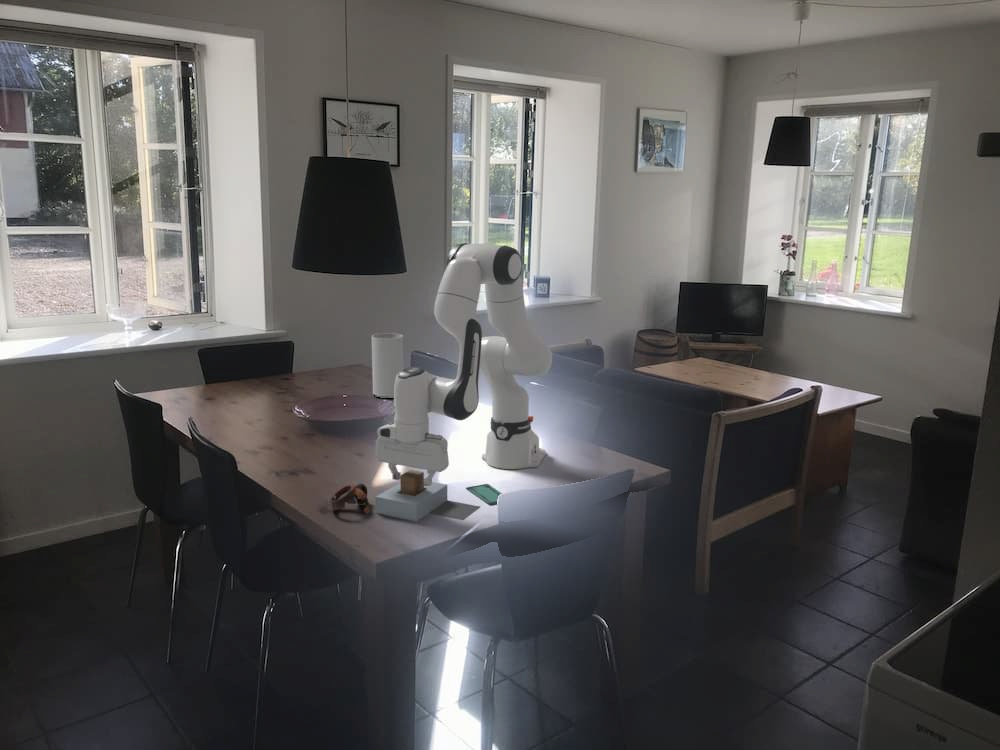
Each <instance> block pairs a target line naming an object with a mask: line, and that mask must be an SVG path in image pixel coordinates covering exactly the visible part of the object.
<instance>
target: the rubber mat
mask: <svg viewBox="0 0 1000 750" xmlns="http://www.w3.org/2000/svg"><path fill="white" fill-rule="evenodd" d="M480 508H481V506H479V505H474V504H469V503H463V502H459V501H454V500H453V501H452V500H448V499H447V501H446V502H444V503H443V504H441V505H440V506H438V507H437V508H435V509H434V510H432V511H431V512H429V513H428V514H431V515H435V516H441V517H446V518H451V519H456V520H461V521H464V520H465V519H466V518H468V517H469V516H470V515H472V514H473V513H475V512H476V511H478V510H479V509H480Z"/></svg>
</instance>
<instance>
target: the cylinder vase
mask: <svg viewBox="0 0 1000 750" xmlns="http://www.w3.org/2000/svg"><path fill="white" fill-rule="evenodd" d="M403 339H404V335H403V334H400V333H391V332H389V333H388V332H387V333H385V332H384V333H375V334H372V335H371V364H372V365H371V368H372V369H371V370H372V371H371V373H372V395H373V394H375V395H377V396H389V397H394V385H395V379H396V376H397V373H398V372H399V371H401V370H402V369H404V340H403Z"/></svg>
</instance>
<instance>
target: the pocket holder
mask: <svg viewBox="0 0 1000 750" xmlns="http://www.w3.org/2000/svg"><path fill="white" fill-rule="evenodd" d="M447 500H448V484H445V483H440V482H435V481H432V485H430V486H426V485H424V491H423V492H421V493H419V494H418V495H416V496H411V495H406V494H401V482H399V483H397V484H396V485H394V486H391V487H390V488H388V489H386V490H385V491H383V492H381V493H380V494H378V495H376V496H375V514H379V515H383V516H387V517H393V518H397V519H402V520H407V521H408V520H409V521H411V522H418V521H420V520H421V519H422V518H423V517H425V516H428V514H430V513H429V512H431V511H432V510H434V509H435V508H437V507H438V506H440V505H441V504H443V503H444V502H446V501H447Z"/></svg>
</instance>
